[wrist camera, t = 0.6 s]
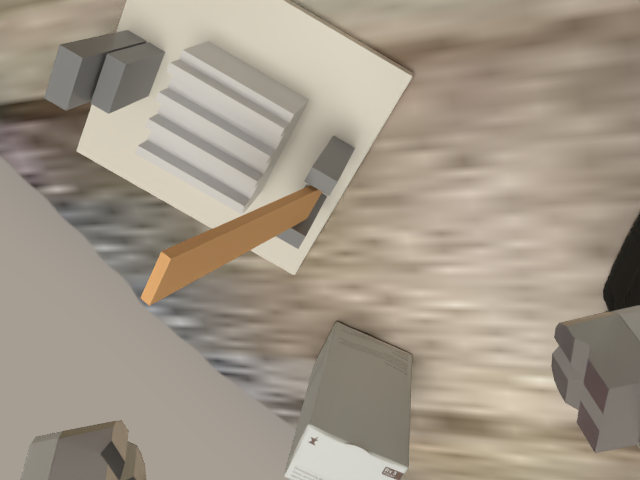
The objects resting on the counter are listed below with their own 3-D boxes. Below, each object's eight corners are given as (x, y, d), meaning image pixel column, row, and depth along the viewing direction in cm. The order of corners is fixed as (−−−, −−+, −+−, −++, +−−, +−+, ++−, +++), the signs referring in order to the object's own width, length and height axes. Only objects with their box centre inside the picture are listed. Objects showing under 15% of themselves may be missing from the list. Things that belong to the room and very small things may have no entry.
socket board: (161, -76, 46) (83, -85, 36) (413, 73, 47) (403, 102, 37) (85, 146, 55) (7, 186, 45) (298, 267, 56) (265, 332, 46)
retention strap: (318, 181, 44) (325, 186, 43) (300, 214, 45) (306, 219, 45) (161, 251, 28) (171, 259, 28) (140, 298, 30) (149, 305, 30)
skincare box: (314, 362, 60) (274, 477, 47) (337, 316, 57) (302, 423, 44) (392, 398, 60) (375, 523, 46) (419, 353, 57) (409, 472, 44)
